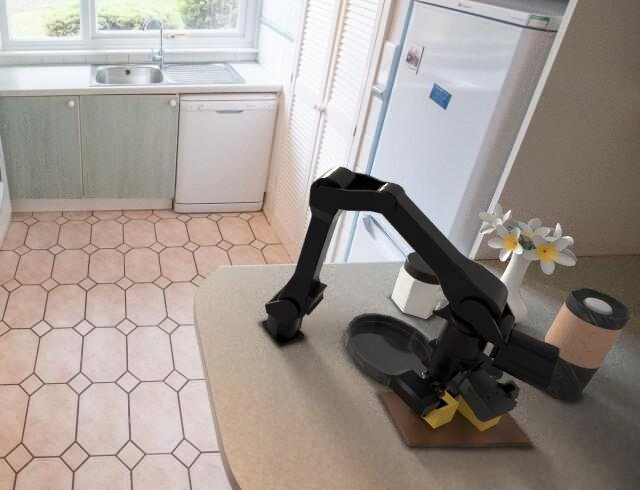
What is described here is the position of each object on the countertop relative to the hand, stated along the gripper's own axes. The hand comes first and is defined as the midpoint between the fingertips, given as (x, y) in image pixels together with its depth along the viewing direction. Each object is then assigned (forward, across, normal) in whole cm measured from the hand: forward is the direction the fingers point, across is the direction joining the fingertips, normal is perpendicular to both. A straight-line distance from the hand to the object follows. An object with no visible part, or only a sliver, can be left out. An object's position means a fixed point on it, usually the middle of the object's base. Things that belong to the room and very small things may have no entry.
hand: (431, 410), depth 78 cm
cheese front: (+1, +8, -3) cm, 8 cm away
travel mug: (+3, +29, -3) cm, 29 cm away
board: (+2, +4, -2) cm, 5 cm away
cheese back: (0, 0, 0) cm, 0 cm away
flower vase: (+3, +36, +13) cm, 38 cm away
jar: (+3, +22, +21) cm, 30 cm away
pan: (+2, +5, +13) cm, 14 cm away
